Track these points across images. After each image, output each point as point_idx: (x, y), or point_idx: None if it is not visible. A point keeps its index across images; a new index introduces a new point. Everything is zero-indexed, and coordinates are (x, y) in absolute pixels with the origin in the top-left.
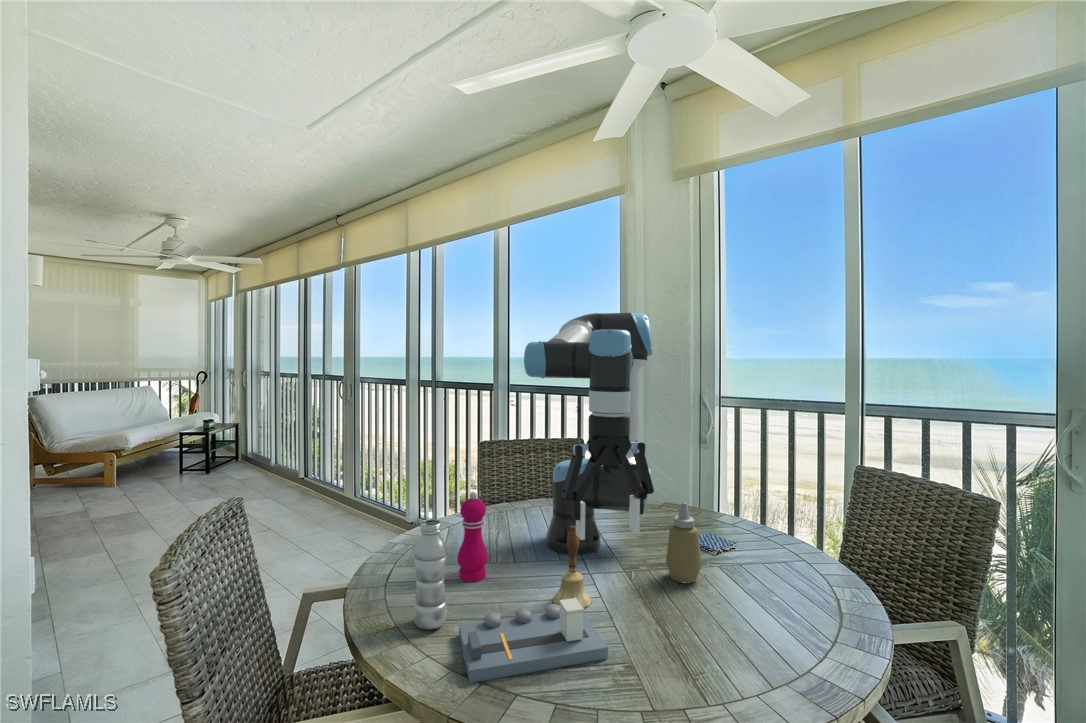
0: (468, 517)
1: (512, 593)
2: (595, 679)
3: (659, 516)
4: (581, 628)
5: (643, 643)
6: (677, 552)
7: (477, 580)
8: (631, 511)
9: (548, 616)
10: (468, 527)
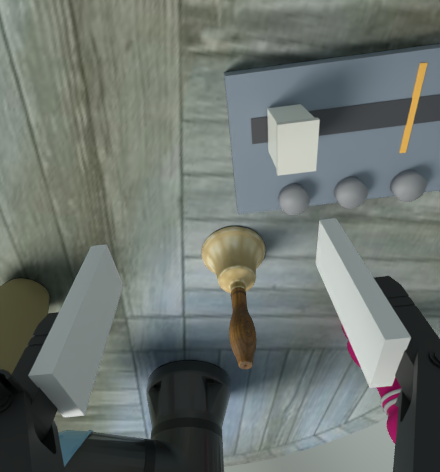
0: None
1: (320, 278)
2: (268, 5)
3: None
4: (274, 113)
5: (142, 113)
6: (15, 323)
7: None
8: (98, 334)
9: (304, 189)
10: None
